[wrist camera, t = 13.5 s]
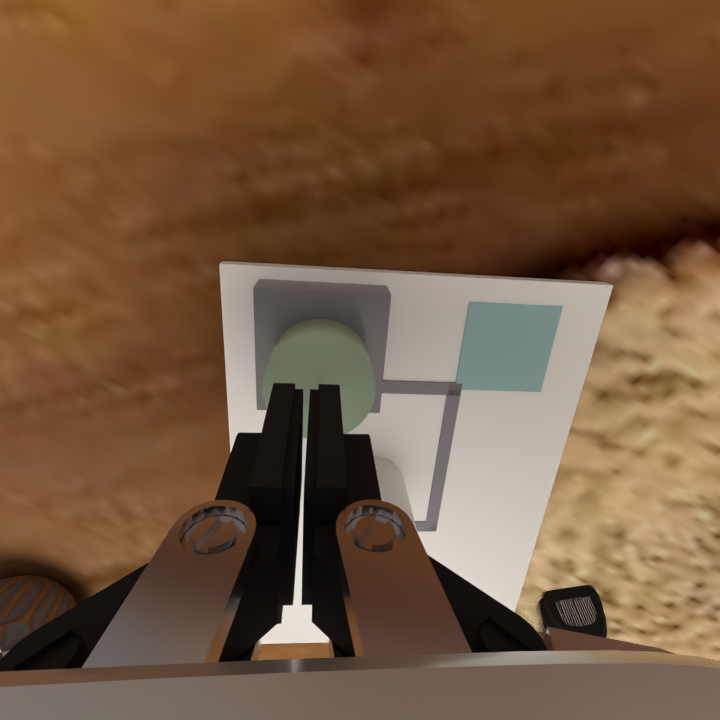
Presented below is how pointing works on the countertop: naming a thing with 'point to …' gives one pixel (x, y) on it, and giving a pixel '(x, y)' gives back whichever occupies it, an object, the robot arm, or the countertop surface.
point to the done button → (324, 367)
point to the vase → (29, 606)
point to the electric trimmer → (574, 611)
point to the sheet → (449, 407)
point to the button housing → (320, 301)
